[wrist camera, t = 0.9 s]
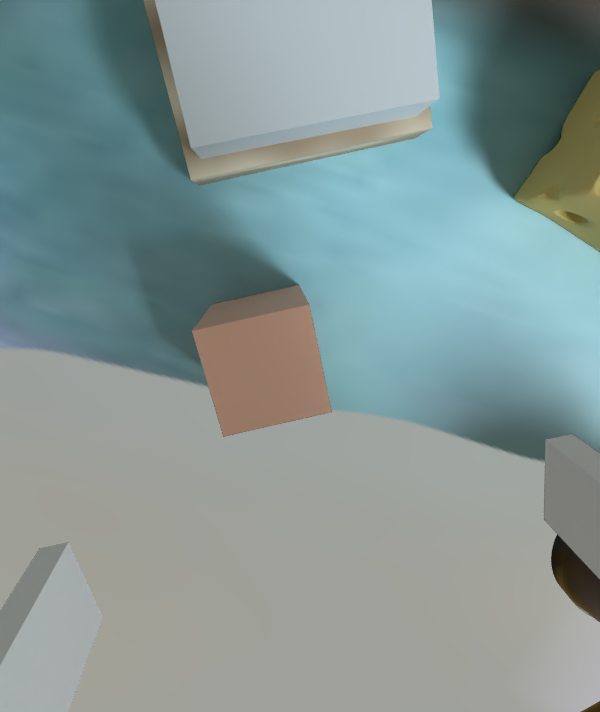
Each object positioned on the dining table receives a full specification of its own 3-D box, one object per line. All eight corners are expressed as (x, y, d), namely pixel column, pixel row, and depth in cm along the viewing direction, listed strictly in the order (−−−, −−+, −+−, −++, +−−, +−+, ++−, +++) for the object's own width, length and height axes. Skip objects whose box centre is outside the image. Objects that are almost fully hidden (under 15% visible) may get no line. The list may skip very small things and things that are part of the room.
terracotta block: (316, 367, 36) (331, 412, 27) (234, 386, 36) (223, 436, 27) (298, 284, 34) (309, 304, 25) (211, 304, 34) (191, 331, 25)
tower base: (412, 139, 32) (432, 127, 28) (200, 186, 32) (190, 180, 28) (380, -137, 27) (399, -197, 23) (130, -84, 27) (107, -135, 23)
